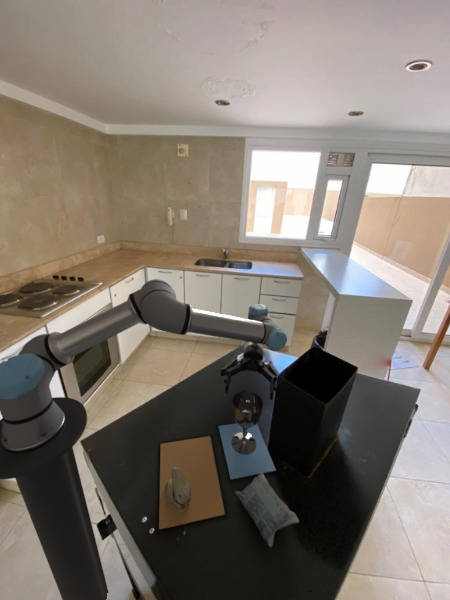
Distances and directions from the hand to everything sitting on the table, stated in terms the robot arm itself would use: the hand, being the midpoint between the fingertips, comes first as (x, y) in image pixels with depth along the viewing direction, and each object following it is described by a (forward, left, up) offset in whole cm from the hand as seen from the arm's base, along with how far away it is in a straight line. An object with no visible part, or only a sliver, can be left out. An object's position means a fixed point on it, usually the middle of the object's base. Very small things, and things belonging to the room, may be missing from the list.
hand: (248, 392), depth 76 cm
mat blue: (+9, -3, -11) cm, 14 cm away
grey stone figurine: (+19, -22, -11) cm, 31 cm away
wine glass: (+8, -3, -11) cm, 14 cm away
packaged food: (+25, -3, -11) cm, 27 cm away
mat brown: (+14, -19, -11) cm, 26 cm away
